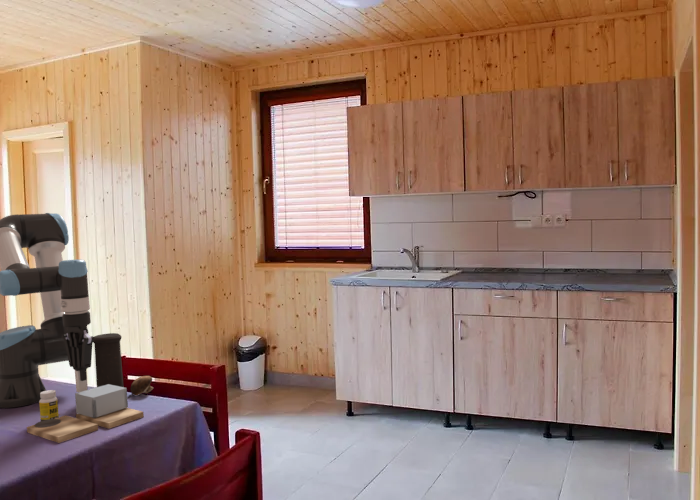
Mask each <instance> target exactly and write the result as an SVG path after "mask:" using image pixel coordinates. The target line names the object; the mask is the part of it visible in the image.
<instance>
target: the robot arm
mask: <svg viewBox="0 0 700 500" xmlns="http://www.w3.org/2000/svg"><path fill="white" fill-rule="evenodd" d="M69 240H70V238H69V231H68V227H67V223H66V221H65V219H64V217H63V216H62V215H61V214H59V213H50V212H44V213H28V214H23V213H22V214H9V215H6V216H4V217H2V218H0V295H1V296H3V297H9V296H10V297H11V296H13V297H16V296H20V295H21V296H23V295H31V294H38V293H40V298H41V304H42V305H41V306H42V311H43V312H42V313H43V318H44V319H43V320H42V322H41V323H40V328H37V329H36V326H35V325H32V324H31V325H30V324H27V325H23V326H17V327H12V328H10V329H6V330H3V331H1V332H0V408H1V409H10V408H17V407H19V408H20V407H24V406H29V405H32V404H37V403H39V401H40V399H41V398H40V393H41V392H43V391H47V389H46V387H45V385H44V383H43V380H42V379H41V375H40V373H39V366H42V365H49V364H57V363H61V362H62V363H63V362H67V361H68V364H69V365H68V366H69V367H71V368H72V369H73V370H74V377H75V389H76V393H79V392H82V391H86V390H89V388H88V375H87V374H88V373H87V369H89V368H91V367H92V358H93V357H92V356H93V345H94V343H93V341H94V335H89V330H88V325H90V324H91V312H90V309H91V307H90V296H89V282H88V281H89V279H88V267H87V262H86V261H85V260H84V259H81V258H80V259H67V260H63V255H62V254H63V252H64V250H65V249H66V245H68V244H69ZM23 249H28V254H29V255H31V256H33V257H34V261H35V267H30V265H29V263H28V260H27V256H26V255H25V252H24V250H23Z"/></svg>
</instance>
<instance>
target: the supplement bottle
mask: <svg viewBox="0 0 700 500" xmlns="http://www.w3.org/2000/svg"><path fill="white" fill-rule="evenodd" d="M40 398H41V399H40V401H39V402H38V403H39V404H38V405H39V419H40V421H44V420H48V419H55V418H58V417H60V416H59V415H60V414H59V405H58V404H59V400H58V398H57V393H56V390H55V389H49V390H46V391H43V392H41V393H40Z"/></svg>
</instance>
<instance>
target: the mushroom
mask: <svg viewBox="0 0 700 500" xmlns="http://www.w3.org/2000/svg"><path fill="white" fill-rule="evenodd" d="M152 381H153V378H152V376H150V375H143V376H139V377H137V378H135V379H134V380H133V382H132V383H131V386H130V392H131V394H132V396H140V395H141V394H149V393H150V392H151V391H153V389H154V388H155V387H153V386H151V383H152Z"/></svg>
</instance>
